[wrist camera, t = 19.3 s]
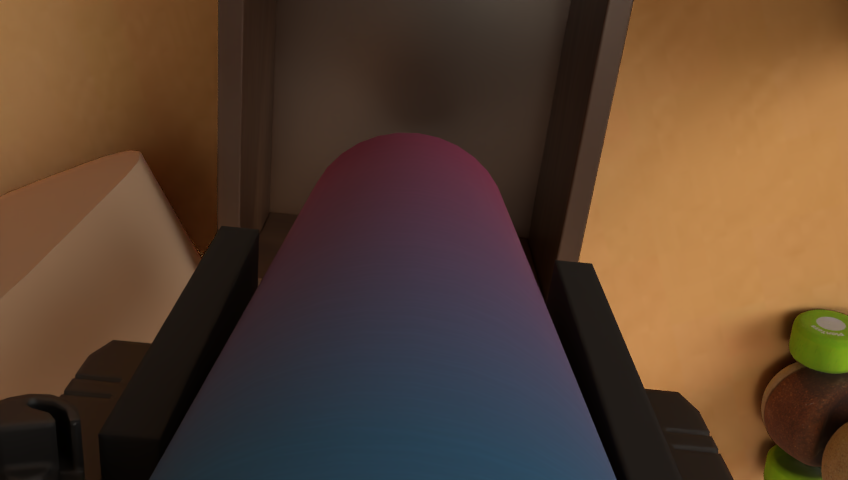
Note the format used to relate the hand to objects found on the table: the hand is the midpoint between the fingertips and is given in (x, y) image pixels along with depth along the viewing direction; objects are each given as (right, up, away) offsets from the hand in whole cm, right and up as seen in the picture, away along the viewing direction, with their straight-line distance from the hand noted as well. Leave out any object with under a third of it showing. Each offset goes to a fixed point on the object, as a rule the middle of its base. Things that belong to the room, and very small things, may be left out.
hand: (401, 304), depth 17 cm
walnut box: (0, +7, +16) cm, 17 cm away
